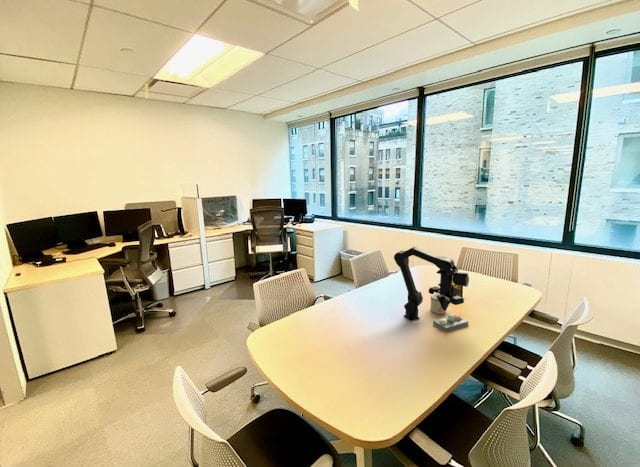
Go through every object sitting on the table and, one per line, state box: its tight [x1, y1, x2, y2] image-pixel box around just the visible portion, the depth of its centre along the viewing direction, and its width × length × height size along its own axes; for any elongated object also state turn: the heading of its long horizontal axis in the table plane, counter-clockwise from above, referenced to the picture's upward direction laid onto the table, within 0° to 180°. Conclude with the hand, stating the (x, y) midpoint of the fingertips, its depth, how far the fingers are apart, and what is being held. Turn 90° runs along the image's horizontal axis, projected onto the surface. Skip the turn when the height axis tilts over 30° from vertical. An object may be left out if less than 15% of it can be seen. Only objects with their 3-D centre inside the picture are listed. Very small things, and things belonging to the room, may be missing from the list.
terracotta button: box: [454, 314, 462, 321], centre depth 162 cm, size 3×3×4 cm
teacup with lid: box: [430, 293, 447, 315], centre depth 177 cm, size 12×9×12 cm
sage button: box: [447, 313, 455, 323], centre depth 160 cm, size 3×3×4 cm
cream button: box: [440, 319, 447, 325], centre depth 158 cm, size 3×3×4 cm
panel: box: [432, 314, 469, 333], centre depth 160 cm, size 16×9×2 cm, turn 113°
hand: (444, 310), depth 157 cm, fingers closed
